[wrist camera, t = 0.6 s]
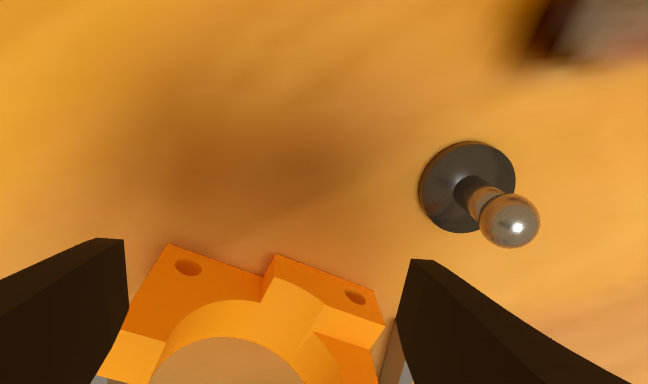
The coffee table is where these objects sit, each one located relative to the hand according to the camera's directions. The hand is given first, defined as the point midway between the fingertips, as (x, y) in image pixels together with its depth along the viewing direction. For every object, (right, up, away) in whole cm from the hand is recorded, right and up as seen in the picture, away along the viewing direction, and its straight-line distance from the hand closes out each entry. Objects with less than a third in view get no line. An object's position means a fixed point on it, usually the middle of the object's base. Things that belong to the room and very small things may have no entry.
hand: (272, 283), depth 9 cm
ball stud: (+9, +3, +10) cm, 14 cm away
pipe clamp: (-2, -3, +12) cm, 12 cm away
